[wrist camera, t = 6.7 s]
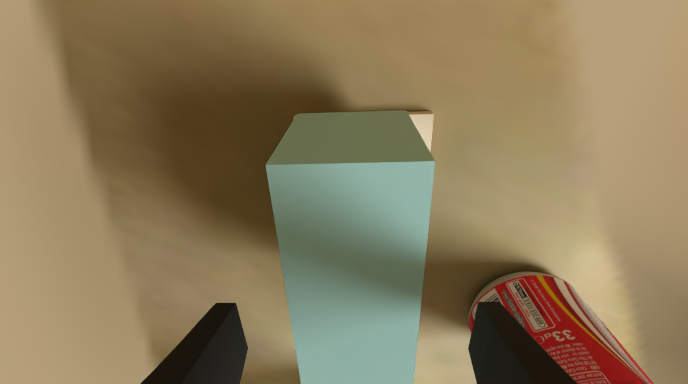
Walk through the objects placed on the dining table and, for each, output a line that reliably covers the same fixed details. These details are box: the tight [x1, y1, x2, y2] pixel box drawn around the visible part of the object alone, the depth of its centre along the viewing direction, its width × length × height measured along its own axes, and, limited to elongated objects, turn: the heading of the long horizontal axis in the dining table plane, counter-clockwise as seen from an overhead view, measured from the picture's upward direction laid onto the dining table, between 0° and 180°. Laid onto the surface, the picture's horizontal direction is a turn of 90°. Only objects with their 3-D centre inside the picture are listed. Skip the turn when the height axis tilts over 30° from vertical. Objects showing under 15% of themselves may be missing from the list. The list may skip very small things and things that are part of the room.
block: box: [266, 110, 435, 384], centre depth 14 cm, size 10×5×6 cm, turn 2°
